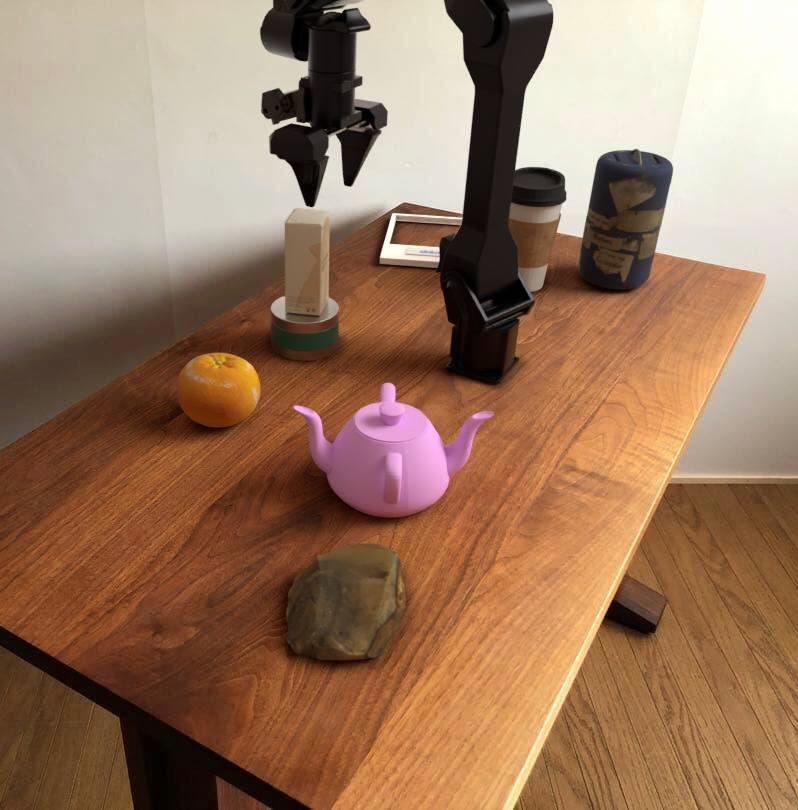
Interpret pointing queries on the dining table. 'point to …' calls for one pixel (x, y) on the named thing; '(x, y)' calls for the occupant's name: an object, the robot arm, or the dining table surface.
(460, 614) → the dining table surface
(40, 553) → the dining table surface
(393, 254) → the photo frame
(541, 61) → the robot arm
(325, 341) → the tin can
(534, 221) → the coffee cup
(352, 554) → the decorative stone
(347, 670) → the dining table surface
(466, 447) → the teapot
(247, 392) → the fruit
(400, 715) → the dining table surface
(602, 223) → the canister
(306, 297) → the box
